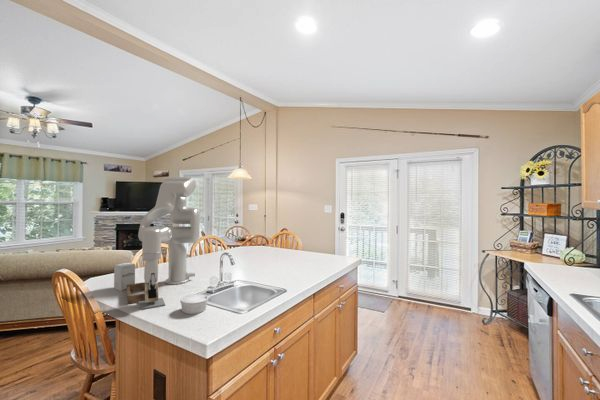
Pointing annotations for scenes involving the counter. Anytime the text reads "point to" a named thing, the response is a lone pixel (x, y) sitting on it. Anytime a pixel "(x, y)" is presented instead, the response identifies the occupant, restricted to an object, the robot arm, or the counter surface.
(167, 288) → the counter surface
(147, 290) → the block
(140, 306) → the mat
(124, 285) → the supplement box
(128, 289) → the box frame
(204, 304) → the ramekin
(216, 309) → the counter surface
